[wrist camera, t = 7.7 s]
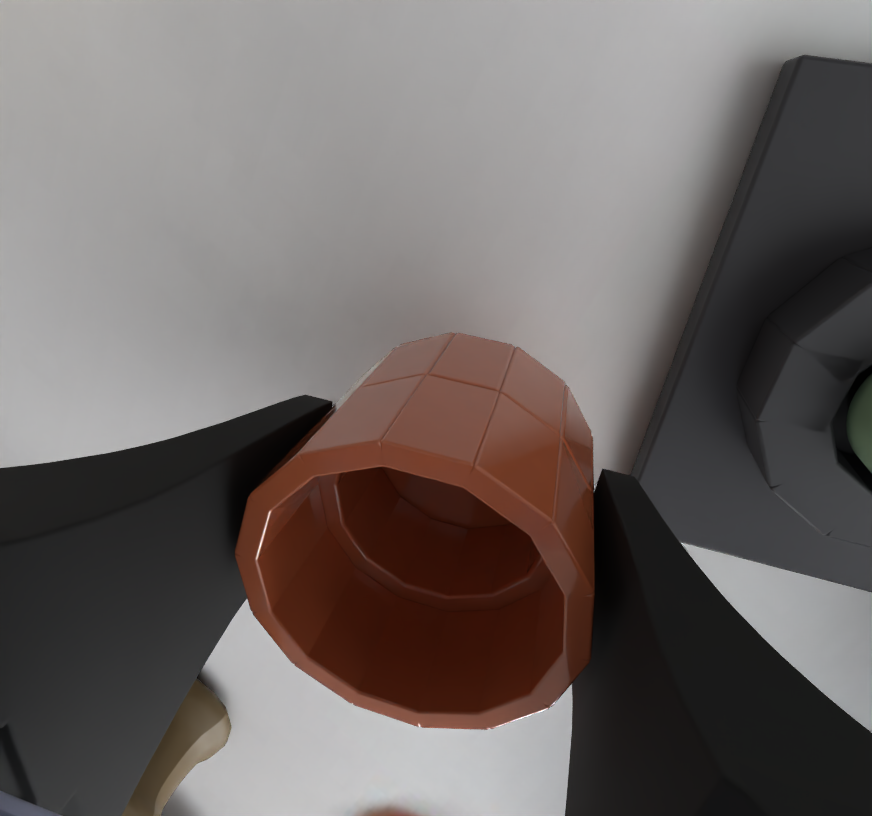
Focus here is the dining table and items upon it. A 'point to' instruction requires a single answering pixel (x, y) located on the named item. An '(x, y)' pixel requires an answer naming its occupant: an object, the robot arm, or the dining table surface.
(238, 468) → the robot arm
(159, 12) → the dining table surface
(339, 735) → the dining table surface
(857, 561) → the pad
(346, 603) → the terracotta flower pot
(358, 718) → the dining table surface
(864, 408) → the tare button
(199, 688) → the kendama
